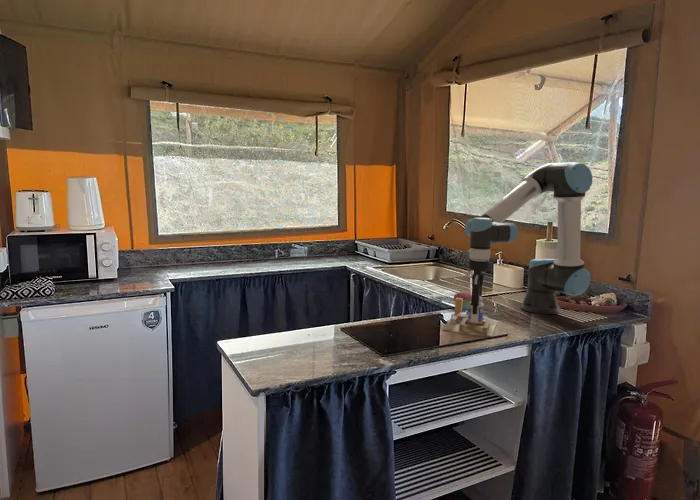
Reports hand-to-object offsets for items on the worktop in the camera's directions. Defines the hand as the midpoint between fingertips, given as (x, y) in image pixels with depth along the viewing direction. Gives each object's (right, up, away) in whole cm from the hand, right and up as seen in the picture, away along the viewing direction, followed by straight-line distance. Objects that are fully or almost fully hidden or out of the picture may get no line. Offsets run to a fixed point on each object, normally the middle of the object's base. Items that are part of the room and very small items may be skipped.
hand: (475, 319), depth 183 cm
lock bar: (-6, 0, +4) cm, 8 cm away
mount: (-1, -4, +4) cm, 5 cm away
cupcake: (+3, 0, +32) cm, 33 cm away
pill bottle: (0, -1, 0) cm, 1 cm away
